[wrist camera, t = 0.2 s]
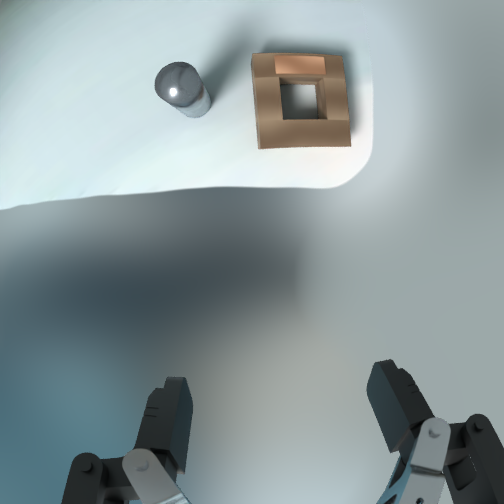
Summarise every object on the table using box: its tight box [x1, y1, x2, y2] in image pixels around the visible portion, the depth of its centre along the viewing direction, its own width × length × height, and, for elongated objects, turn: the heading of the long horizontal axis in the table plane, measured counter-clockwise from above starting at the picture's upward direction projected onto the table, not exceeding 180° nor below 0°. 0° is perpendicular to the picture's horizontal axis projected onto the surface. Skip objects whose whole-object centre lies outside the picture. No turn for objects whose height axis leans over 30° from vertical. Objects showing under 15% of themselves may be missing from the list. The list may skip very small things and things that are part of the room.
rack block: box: [251, 53, 351, 149], centre depth 31 cm, size 12×11×4 cm
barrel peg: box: [155, 62, 211, 118], centre depth 26 cm, size 4×4×12 cm
